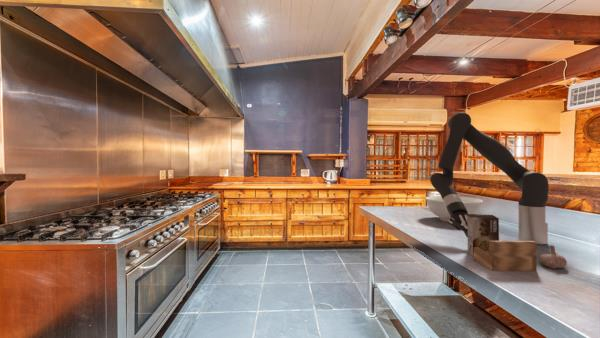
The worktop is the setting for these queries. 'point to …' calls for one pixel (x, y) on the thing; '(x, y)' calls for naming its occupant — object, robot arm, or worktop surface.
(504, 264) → the holder
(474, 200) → the bowl
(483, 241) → the coffee box
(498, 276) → the worktop surface
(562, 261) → the garlic bulb
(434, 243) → the worktop surface
